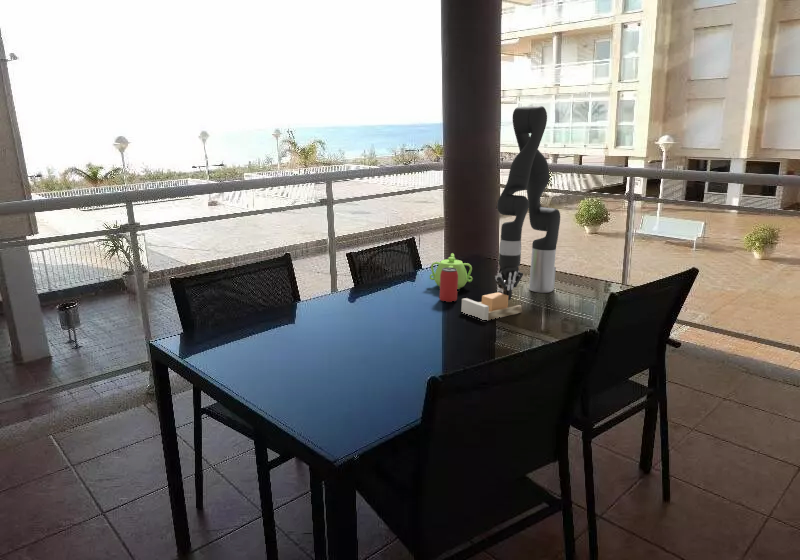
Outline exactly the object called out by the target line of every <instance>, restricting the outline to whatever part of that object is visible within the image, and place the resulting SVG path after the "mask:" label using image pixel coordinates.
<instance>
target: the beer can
mask: <svg viewBox="0 0 800 560" xmlns="http://www.w3.org/2000/svg"><path fill="white" fill-rule="evenodd" d="M439 289H440V290H439V300H440V301H441V302H444V301H446V302H445V303H453V302H452V301H454V302H456V301H457V300H458V291H457V289H458V273H457V269H455V268H443V269H442V271H441V274H440V286H439Z"/></svg>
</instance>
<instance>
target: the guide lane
mask: <svg viewBox="0 0 800 560" xmlns="http://www.w3.org/2000/svg"><path fill="white" fill-rule="evenodd" d="M478 302H479V303H481V304H482V301H478ZM522 308H523V305H521V304H517V305H512V306H508V308H503V309H499V310H494V311H490V312H489V314H488V320H487V321H491V319H492V320H496V319H499V317H500V318H504V317H507V316H512V315H517V314H521V313H522V310H523V309H522ZM495 318H496V319H495Z"/></svg>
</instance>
